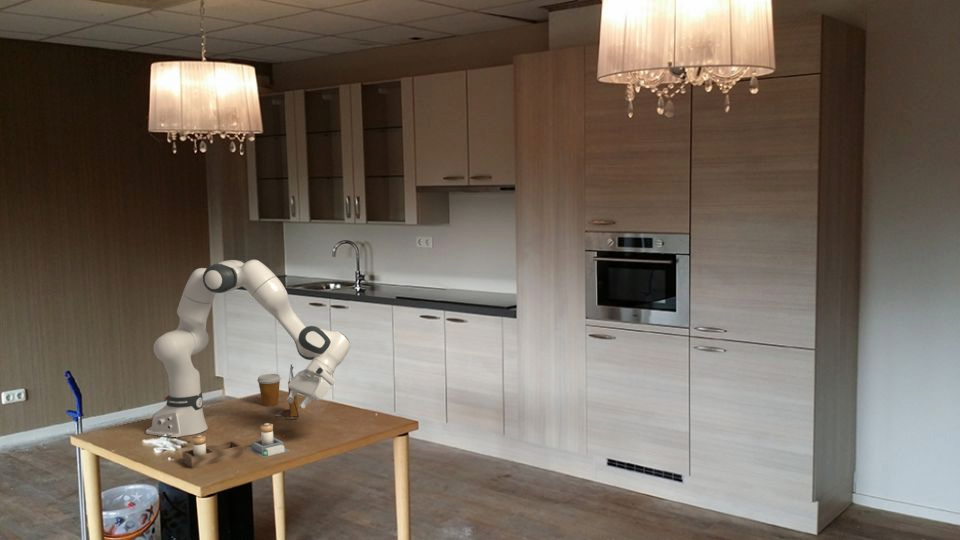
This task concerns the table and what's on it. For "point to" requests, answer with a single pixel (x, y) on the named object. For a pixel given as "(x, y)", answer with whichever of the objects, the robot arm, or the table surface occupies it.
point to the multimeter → (292, 405)
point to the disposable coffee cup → (269, 388)
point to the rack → (214, 454)
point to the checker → (268, 448)
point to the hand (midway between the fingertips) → (294, 404)
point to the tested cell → (267, 434)
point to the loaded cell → (199, 445)
